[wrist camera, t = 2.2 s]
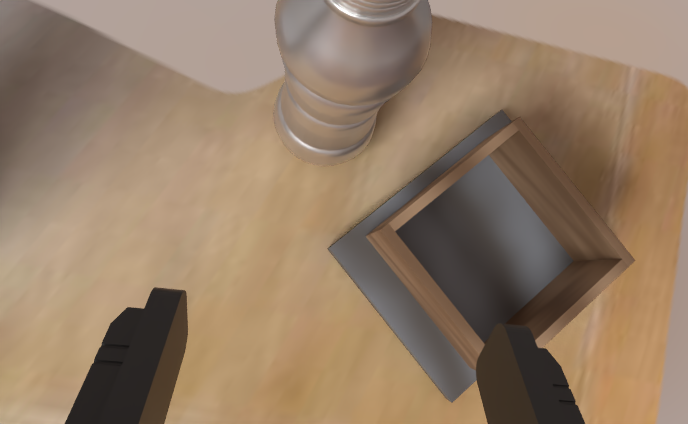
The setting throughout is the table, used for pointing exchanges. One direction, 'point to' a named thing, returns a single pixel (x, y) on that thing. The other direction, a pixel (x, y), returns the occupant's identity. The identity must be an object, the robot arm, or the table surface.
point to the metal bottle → (344, 70)
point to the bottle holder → (481, 251)
